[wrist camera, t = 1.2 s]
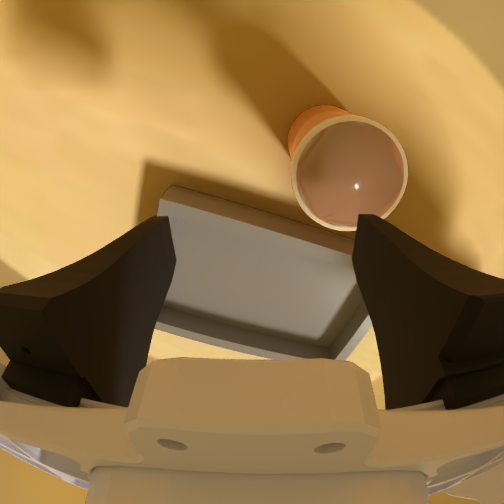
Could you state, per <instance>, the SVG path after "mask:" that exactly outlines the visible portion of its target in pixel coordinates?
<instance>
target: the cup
mask: <svg viewBox="0 0 504 504" xmlns="http://www.w3.org/2000/svg"><path fill="white" fill-rule="evenodd" d="M288 149H289V153H290V158H291V162H292V163H291V181H292V187H293V190H294V194H295V197H296V199H297V201H298V203H299V205H300V206H301V208H302V209H303V210H304V212H305V213H306V214H307V215H308V216H309V217H310V218H311V219H313V220H314V221H316V222H317V223H319V224H321V225H322V226H325V227H327V228H330V229H334V230H339V231H356V229H357V222H358V215H359V214H374V215H377V216H379V217H380V218H382V219H385V218H386V217H387V216H388V215H389V214H390V213H391V212H392V211H393V210H394V209H395V208H396V206H397V205H398V204H399V202H400V200H401V198H402V196H403V194H404V192H405V188H406V185H407V179H408V165H407V159H406V155H405V153H404V150H403V148H402V146H401V144H400V142H399V141H398V140H397V138H396V137H395V136H394V135H393V134H392V133H391V132H390V131H389V130H388V129H387V128H386V127H384V126H383V125H381V124H379V123H377V122H376V121H374V120H371V119H369V118H366V117H363V116H358V115H353V114H351V113H349V112H347V111H345V110H343V109H341V108H339V107H336V106H332V105H319V106H314V107H311V108H309V109H307V110H305V111H304V112H302V113H301V114H300V115H299V116H298V117H297V118H296V119H295V120H294V122H293V124H292V125H291V128H290V130H289V134H288Z"/></svg>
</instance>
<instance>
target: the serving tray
mask: <svg viewBox="0 0 504 504" xmlns="http://www.w3.org/2000/svg"><path fill="white" fill-rule="evenodd" d="M157 216H168V217H169V222H170V228H171V233H172V239H173V244H174V249H175V255H176V260H177V261H176V266H175V270H174V275H173V279H172V282H171V285H170V288H169V290H168V293H167V296H166V298H165V301H164V304H163V306H162V309H161V311H160V314H159V317H158V319H157V322H156V325H155V328H154V329H158V330H161V331H164V332H168V333H171V334H174V335H178V336H181V337H185V338H188V339H192V340H195V341H199V342H203V343H207V344H210V345H214V346H218V347H222V348H226V349H230V350H234V351H238V352H243V353H247V354H251V355H256V356H260V357H265V358H269V359H274V360H285V359H317V358H324V359H333V360H342V361H345V360H346V359H347V357H348V356H349V355H350V354H351V352H352V351H353V350H354V349H355V347H356V346H357V345H358V344H359V342H360V341H361V340H362V338H363V337H364V336H365V335H366V333H367V332H368V331H369V329H370V328H371V327H372V322H371V319H370V316H369V313H368V311H367V308H366V305H365V302H364V300H363V297H362V294H361V291H360V289H359V286H358V283H357V280H356V276H355V272H354V268H353V263H352V254H353V248H354V242H355V240H352V239H349V238H346V237H343V236H340V235H337V234H334V233H331V232H328V231H325V230H322V229H319V228H316V227H312V226H309V225H306V224H303V223H300V222H297V221H294V220H291V219H287V218H284V217H281V216H278V215H275V214H271V213H268V212H265V211H262V210H258V209H255V208H252V207H248V206H245V205H242V204H238V203H235V202H231V201H228V200H225V199H221V198H218V197H214V196H211V195H207V194H204V193H200V192H197V191H193V190H189V189H186V188H182V187H179V186H175V185H170V187H169V188H168V189H167V190H166V191H165V193H164V194H163V195H162V197H161V198H160V201H159V207H158V213H157Z"/></svg>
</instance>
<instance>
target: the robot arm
mask: <svg viewBox="0 0 504 504" xmlns="http://www.w3.org/2000/svg"><path fill="white" fill-rule="evenodd" d="M176 261H177V260H176V255H175V249H174V244H173V239H172V233H171V228H170V222H169V217H168V216H154V217H151V218H149V219H147V220H146V221H144V222H142V223H141V224H139V225H137V226H136V227H134V228H133V229H131V230H130V231H128V232H127V233H125V234H124V235H122V236H121V237H119V238H117V239H116V240H114V241H113V242H111V243H109V244H108V245H106V246H105V247H103V248H101V249H100V250H98V251H96V252H94V253H93V254H91V255H89V256H87V257H85V258H83V259H81V260H79V261H77V262H75V263H73V264H71V265H68V266H66V267H64V268H61V269H59V270H57V271H54V272H52V273H49V274H46V275H44V276H41V277H37V278H34V279H31V280H28V281H24V282H20V283H17V284H13V285H9V286H4V287H2V288H0V347H1V348H2V349H3V351H4V352H5V353H6V355H7V356H8V358H9V359H10V362H9V364H8V365H7V367H6V366H5V365H4V364H2V363H0V448H1V449H3V450H5V451H6V452H8V453H10V454H12V455H14V456H15V457H17V458H19V459H21V460H23V461H25V462H27V463H29V464H30V465H32V466H34V467H37V468H38V469H41V470H43V471H45V472H47V473H49V474H51V475H53V476H55V477H58V478H60V479H62V480H64V481H66V482H69V483H71V484H73V485H76V486H78V487H81V488H84V489H86V490H88V493H87V497H86V501H85V504H430V502H429V495H431V494H434V493H437V492H439V491H442V490H444V492H445V493H446V494H448V495H452V496H457V497H462V498H467V499H473V500H477V501H480V503H481V504H504V279H501V278H498V277H494V276H491V275H488V274H485V273H482V272H479V271H477V270H474V269H471V268H469V267H467V266H464V265H462V264H460V263H457V262H455V261H453V260H451V259H449V258H447V257H445V256H443V255H441V254H439V253H437V252H435V251H433V250H432V249H430V248H428V247H426V246H425V245H423V244H421V243H420V242H418V241H416V240H415V239H413V238H412V237H410V236H409V235H407V234H405V233H404V232H402V231H401V230H399V229H398V228H396V227H395V226H393V225H392V224H390V223H389V222H387V221H385V220H384V219H382V218H380V217H379V216H377V215H374V214H359V215H358V222H357V229H356V235H355V242H354V248H353V254H352V263H353V268H354V272H355V276H356V280H357V283H358V286H359V289H360V291H361V294H362V297H363V300H364V302H365V305H366V308H367V311H368V313H369V316H370V319H371V322H372V325H373V328H374V332H375V336H376V340H377V345H378V350H379V356H380V362H381V369H382V375H383V384H384V394H385V408H386V410H377V406H376V401H375V397H374V392H373V388H372V384H371V380H370V375H369V373H368V372H366V371H365V370H363V369H362V368H360V367H359V366H357V365H356V364H354V363H353V362H349V361H342V360H333V359H324V358H317V359H285V360H240V359H208V358H189V357H180V358H170V359H160V360H155V361H152V362H151V363H150V364H148V365H147V366H146V363H147V358H148V353H149V348H150V343H151V339H152V335H153V331H154V328H155V325H156V322H157V319H158V317H159V314H160V311H161V309H162V306H163V304H164V301H165V298H166V296H167V293H168V290H169V288H170V285H171V282H172V279H173V275H174V270H175V266H176Z"/></svg>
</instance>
